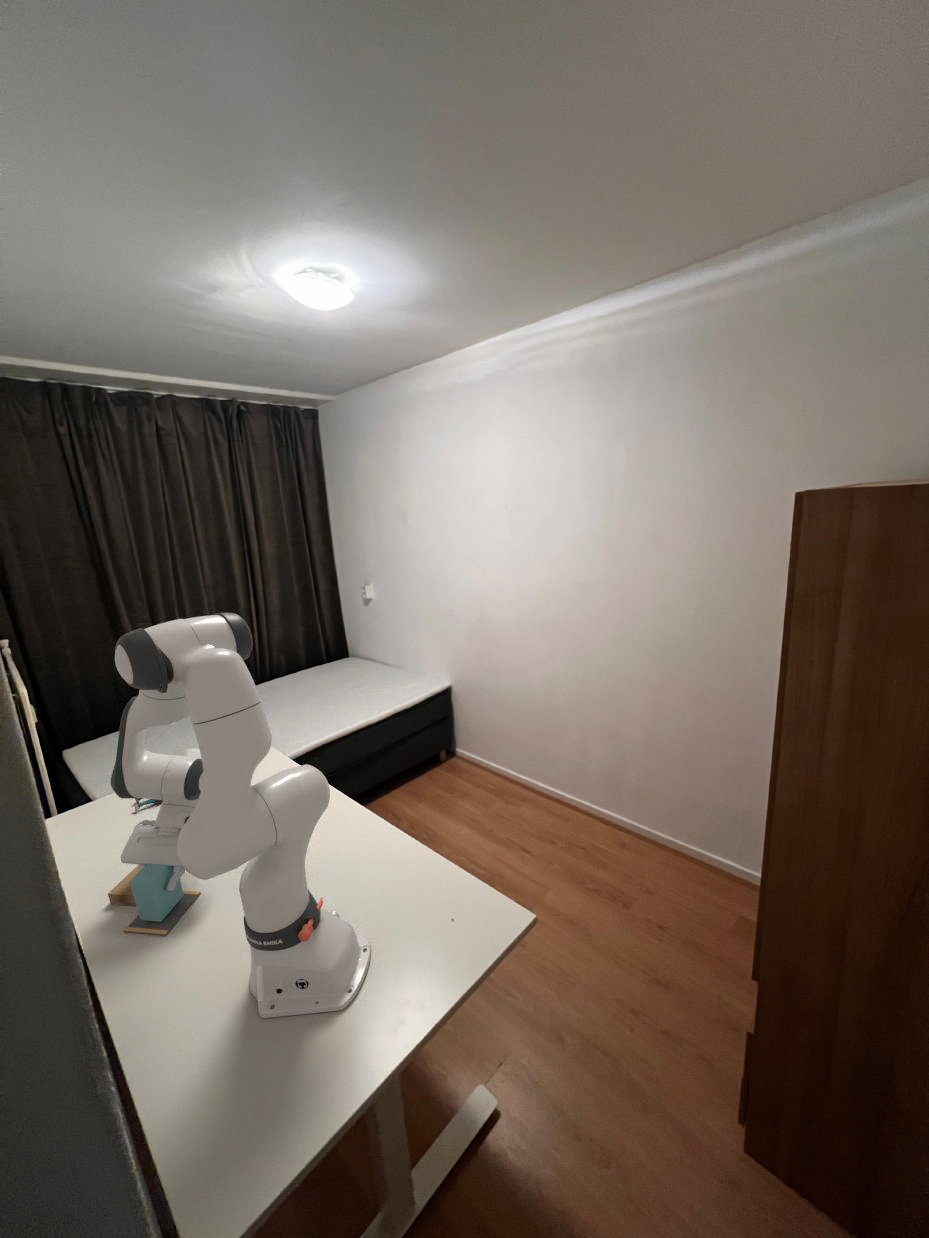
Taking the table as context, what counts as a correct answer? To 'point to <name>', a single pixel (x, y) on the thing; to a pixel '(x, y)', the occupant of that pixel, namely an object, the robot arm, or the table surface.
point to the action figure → (145, 803)
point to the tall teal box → (155, 892)
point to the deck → (123, 891)
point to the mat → (168, 922)
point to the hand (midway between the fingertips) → (155, 889)
